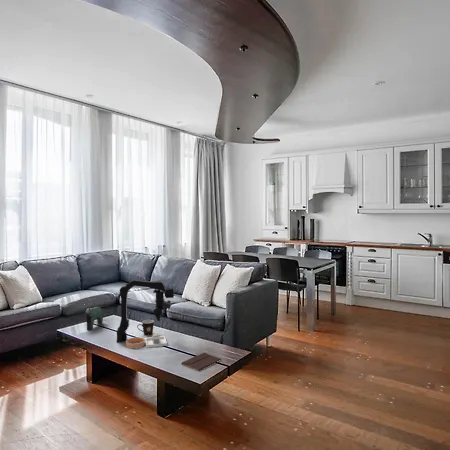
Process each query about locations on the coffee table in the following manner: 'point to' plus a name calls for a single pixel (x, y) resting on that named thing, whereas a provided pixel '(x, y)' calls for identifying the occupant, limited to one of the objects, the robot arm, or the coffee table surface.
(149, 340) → the tray
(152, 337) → the taupe block
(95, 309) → the green animal figure
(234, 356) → the coffee table surface
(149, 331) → the coffee mug
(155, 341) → the grey block
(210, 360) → the notebook
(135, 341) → the terracotta bowl
